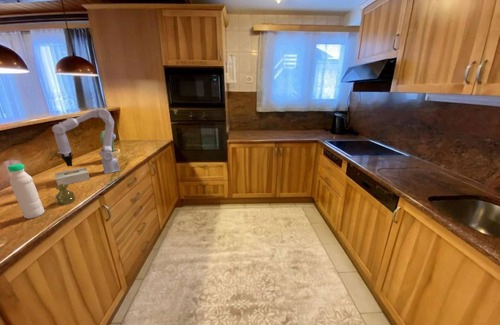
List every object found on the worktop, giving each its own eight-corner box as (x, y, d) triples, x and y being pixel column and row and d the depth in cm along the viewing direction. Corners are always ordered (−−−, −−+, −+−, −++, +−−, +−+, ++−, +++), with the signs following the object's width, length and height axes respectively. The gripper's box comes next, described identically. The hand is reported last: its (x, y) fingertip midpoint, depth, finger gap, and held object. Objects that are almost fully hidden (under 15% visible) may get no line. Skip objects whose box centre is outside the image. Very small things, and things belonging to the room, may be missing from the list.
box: (87, 173, 150) (85, 167, 149) (90, 179, 140) (88, 172, 139) (57, 180, 140) (55, 173, 139) (58, 186, 131) (55, 179, 129)
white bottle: (47, 213, 102) (29, 163, 94) (27, 221, 96) (5, 168, 88) (41, 209, 105) (23, 161, 97) (22, 216, 100) (0, 166, 91)
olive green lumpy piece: (64, 198, 116) (59, 181, 112) (79, 198, 116) (73, 181, 113) (53, 205, 109) (47, 187, 106) (69, 205, 109) (63, 187, 106)
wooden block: (78, 178, 143) (76, 171, 142) (79, 179, 141) (77, 172, 140) (69, 180, 140) (67, 173, 138) (69, 181, 138) (67, 174, 137)
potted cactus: (111, 164, 170) (103, 132, 162) (96, 162, 174) (87, 132, 165) (126, 158, 184) (120, 129, 176) (112, 157, 188) (105, 128, 180)
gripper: (54, 143, 136) (61, 163, 140) (55, 147, 125) (62, 169, 130) (68, 141, 140) (74, 161, 145) (70, 145, 130) (76, 166, 134)
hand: (69, 164), depth 138 cm, fingers open, 7 cm apart
